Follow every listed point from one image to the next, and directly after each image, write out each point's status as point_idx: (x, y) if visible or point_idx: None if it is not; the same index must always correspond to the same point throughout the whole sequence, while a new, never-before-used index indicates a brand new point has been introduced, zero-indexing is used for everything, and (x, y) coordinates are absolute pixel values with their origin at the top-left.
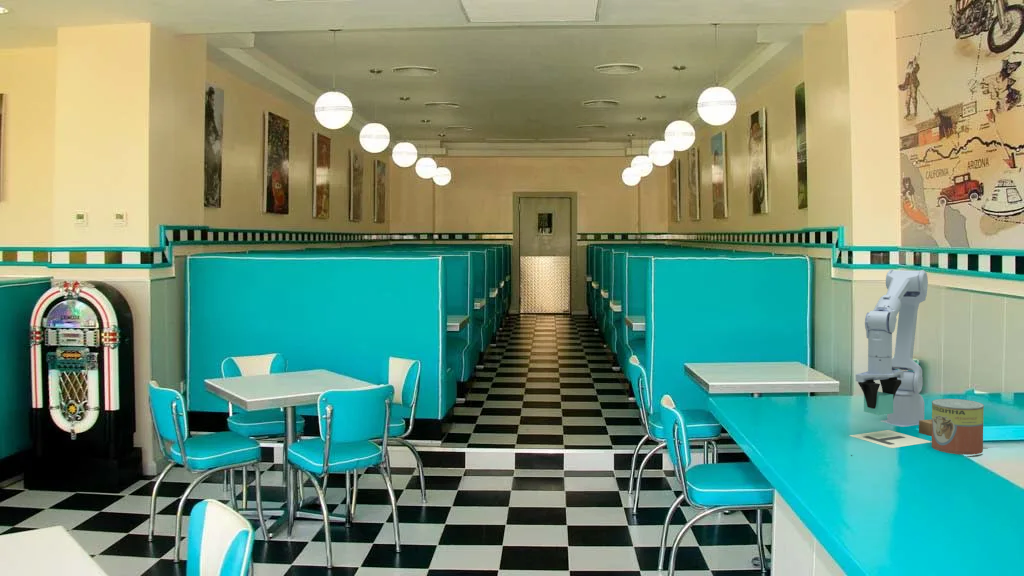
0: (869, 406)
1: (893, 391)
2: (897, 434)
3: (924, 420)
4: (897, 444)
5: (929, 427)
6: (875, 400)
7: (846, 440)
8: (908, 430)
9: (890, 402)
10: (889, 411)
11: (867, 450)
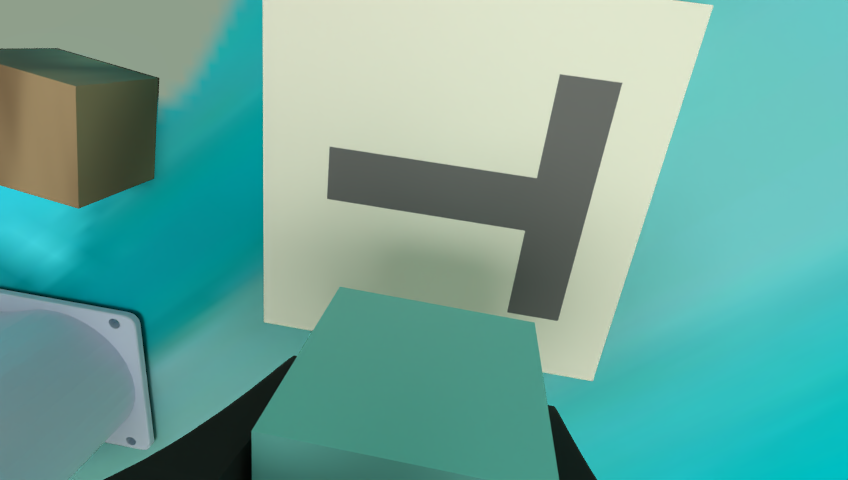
0: None
1: (204, 477)
2: (310, 228)
3: (39, 183)
4: (562, 53)
5: (100, 90)
6: (567, 467)
7: (664, 347)
8: (133, 273)
9: (343, 365)
10: (384, 307)
11: (838, 115)
